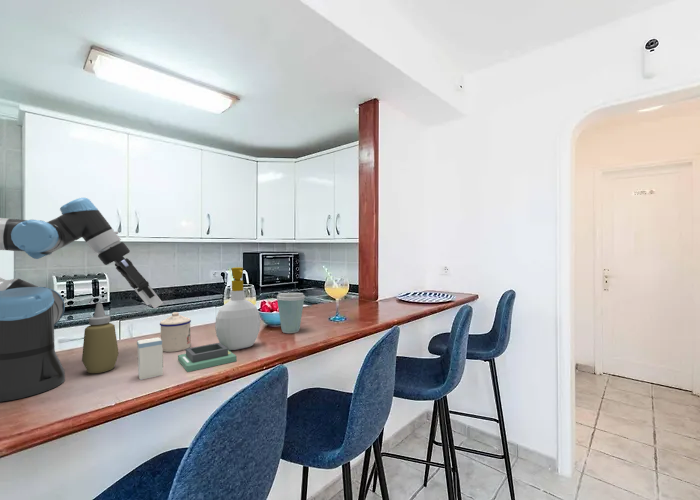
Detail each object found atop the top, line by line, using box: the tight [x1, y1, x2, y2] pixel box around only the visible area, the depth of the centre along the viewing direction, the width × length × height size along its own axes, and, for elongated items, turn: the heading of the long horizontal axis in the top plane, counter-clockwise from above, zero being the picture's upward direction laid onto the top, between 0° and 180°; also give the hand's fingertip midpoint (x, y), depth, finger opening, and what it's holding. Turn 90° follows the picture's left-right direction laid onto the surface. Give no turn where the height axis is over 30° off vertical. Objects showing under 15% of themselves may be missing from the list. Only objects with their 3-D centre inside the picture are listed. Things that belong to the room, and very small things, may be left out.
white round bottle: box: [214, 266, 261, 351], centre depth 110 cm, size 14×9×26 cm, turn 125°
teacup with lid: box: [159, 311, 192, 353], centre depth 113 cm, size 12×9×12 cm
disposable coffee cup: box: [276, 292, 306, 334], centre depth 131 cm, size 11×11×15 cm
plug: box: [136, 336, 164, 381], centre depth 88 cm, size 6×4×9 cm
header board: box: [177, 342, 237, 373], centre depth 99 cm, size 13×12×4 cm
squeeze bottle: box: [81, 303, 120, 374], centre depth 93 cm, size 8×8×18 cm
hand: (154, 304), depth 107 cm, fingers open, 13 cm apart
